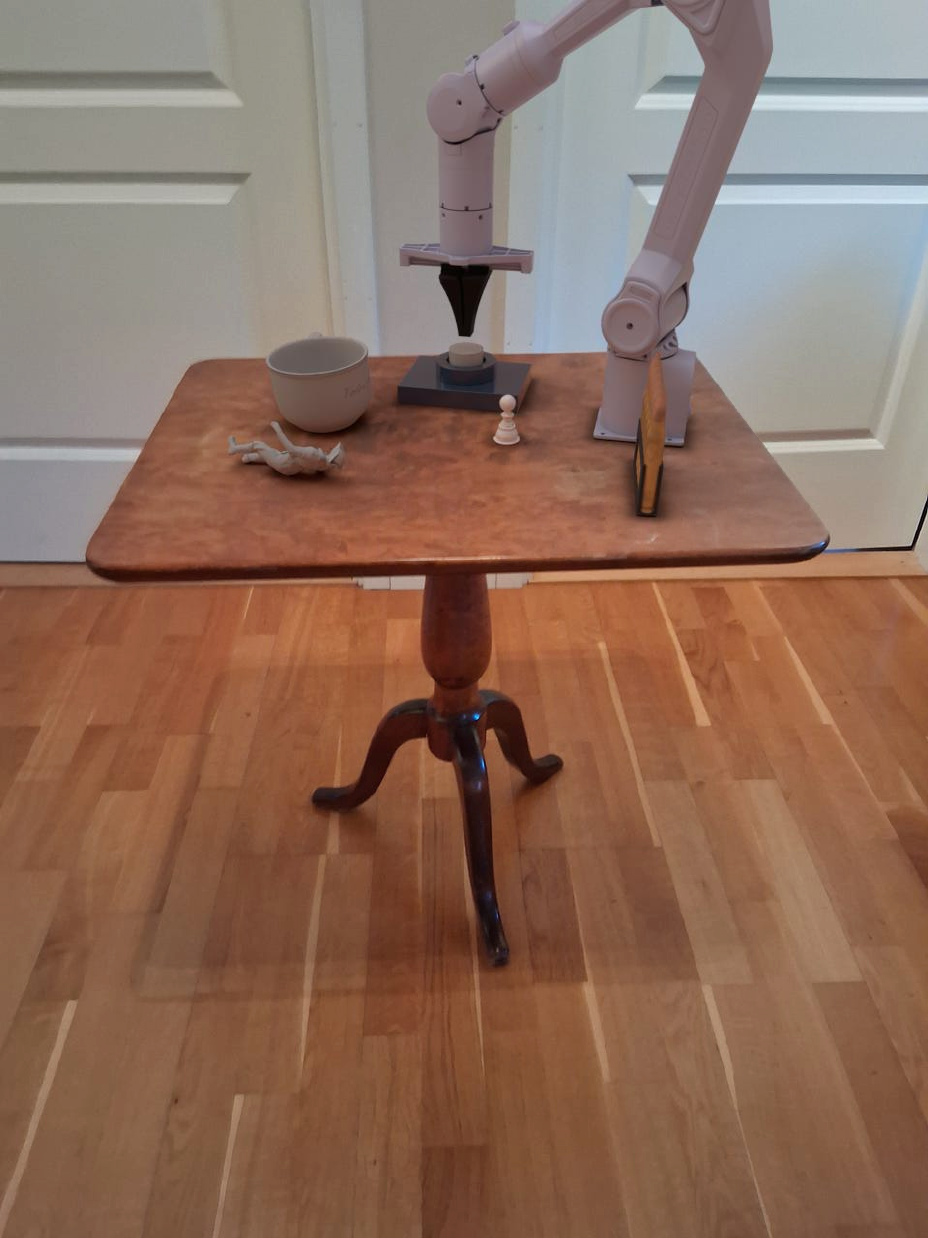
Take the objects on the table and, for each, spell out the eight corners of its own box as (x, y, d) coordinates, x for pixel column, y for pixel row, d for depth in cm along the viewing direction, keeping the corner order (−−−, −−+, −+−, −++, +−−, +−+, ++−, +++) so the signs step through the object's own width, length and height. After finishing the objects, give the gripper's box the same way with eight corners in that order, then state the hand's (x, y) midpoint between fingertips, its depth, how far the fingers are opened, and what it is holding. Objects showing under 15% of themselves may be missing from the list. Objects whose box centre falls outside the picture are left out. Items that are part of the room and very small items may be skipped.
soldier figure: (264, 456, 95) (363, 435, 90) (263, 499, 94) (363, 480, 89) (216, 428, 88) (320, 404, 83) (214, 474, 87) (320, 453, 82)
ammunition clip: (656, 517, 82) (674, 392, 75) (636, 516, 82) (652, 391, 75) (651, 464, 91) (667, 348, 84) (633, 463, 91) (647, 347, 84)
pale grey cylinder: (486, 357, 105) (486, 343, 104) (479, 370, 102) (479, 355, 101) (453, 355, 106) (453, 340, 105) (445, 367, 103) (445, 352, 102)
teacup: (367, 443, 95) (362, 369, 90) (265, 442, 95) (255, 369, 91) (380, 392, 106) (375, 324, 102) (289, 391, 106) (280, 324, 102)
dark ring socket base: (531, 381, 109) (532, 348, 107) (517, 414, 101) (518, 379, 99) (419, 372, 111) (418, 340, 109) (398, 403, 103) (396, 370, 101)
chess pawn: (490, 444, 95) (491, 399, 92) (496, 433, 97) (497, 389, 94) (517, 447, 94) (518, 402, 91) (521, 435, 96) (523, 391, 93)
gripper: (389, 210, 92) (395, 340, 100) (528, 217, 90) (523, 350, 98) (407, 195, 98) (411, 320, 106) (538, 201, 95) (533, 329, 103)
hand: (466, 333), depth 102 cm, fingers closed
